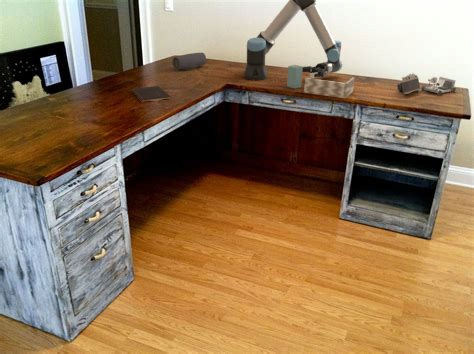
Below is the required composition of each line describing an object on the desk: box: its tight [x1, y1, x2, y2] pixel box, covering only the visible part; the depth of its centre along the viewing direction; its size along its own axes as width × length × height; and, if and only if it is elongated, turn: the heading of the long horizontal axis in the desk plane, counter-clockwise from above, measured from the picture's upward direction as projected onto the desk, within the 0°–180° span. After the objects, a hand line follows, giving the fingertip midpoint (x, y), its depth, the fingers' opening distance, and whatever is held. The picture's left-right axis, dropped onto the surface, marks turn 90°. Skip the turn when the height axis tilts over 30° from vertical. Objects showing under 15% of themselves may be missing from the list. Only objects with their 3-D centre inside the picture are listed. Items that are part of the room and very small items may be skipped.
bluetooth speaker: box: [172, 52, 207, 71], centre depth 296 cm, size 23×9×10 cm, turn 133°
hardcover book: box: [131, 85, 172, 101], centre depth 240 cm, size 16×23×2 cm
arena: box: [303, 76, 356, 99], centre depth 248 cm, size 24×16×8 cm, turn 62°
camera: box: [396, 72, 422, 95], centre depth 249 cm, size 9×16×10 cm, turn 135°
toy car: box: [420, 76, 457, 96], centre depth 250 cm, size 18×10×12 cm
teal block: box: [286, 64, 304, 89], centre depth 256 cm, size 6×6×12 cm
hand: (301, 74), depth 258 cm, fingers open, 13 cm apart
